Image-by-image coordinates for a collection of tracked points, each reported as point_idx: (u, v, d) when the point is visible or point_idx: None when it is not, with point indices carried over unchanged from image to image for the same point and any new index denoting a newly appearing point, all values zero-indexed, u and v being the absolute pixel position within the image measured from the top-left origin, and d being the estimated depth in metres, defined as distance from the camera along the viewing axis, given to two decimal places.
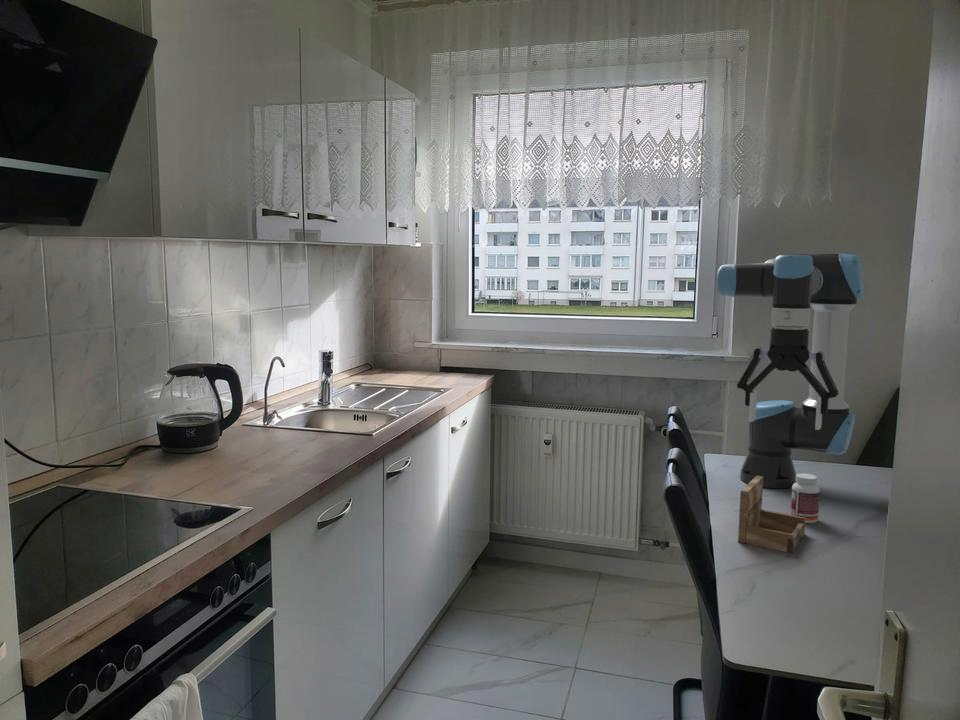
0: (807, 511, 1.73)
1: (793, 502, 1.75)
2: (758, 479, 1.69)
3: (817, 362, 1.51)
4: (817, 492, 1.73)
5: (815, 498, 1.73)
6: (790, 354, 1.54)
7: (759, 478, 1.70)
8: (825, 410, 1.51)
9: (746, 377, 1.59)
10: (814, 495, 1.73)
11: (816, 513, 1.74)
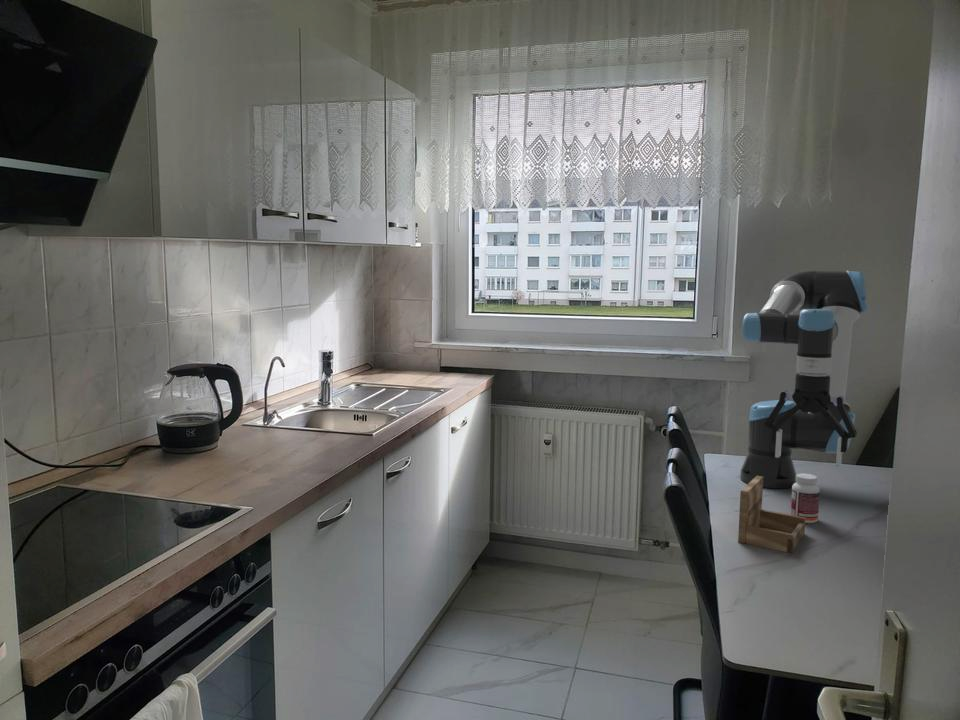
0: (807, 511, 1.73)
1: (793, 503, 1.75)
2: (758, 479, 1.69)
3: (838, 406, 1.68)
4: (817, 492, 1.73)
5: (815, 499, 1.73)
6: (813, 398, 1.71)
7: (759, 478, 1.70)
8: (845, 449, 1.69)
9: (773, 417, 1.77)
10: (814, 495, 1.73)
11: (816, 513, 1.74)
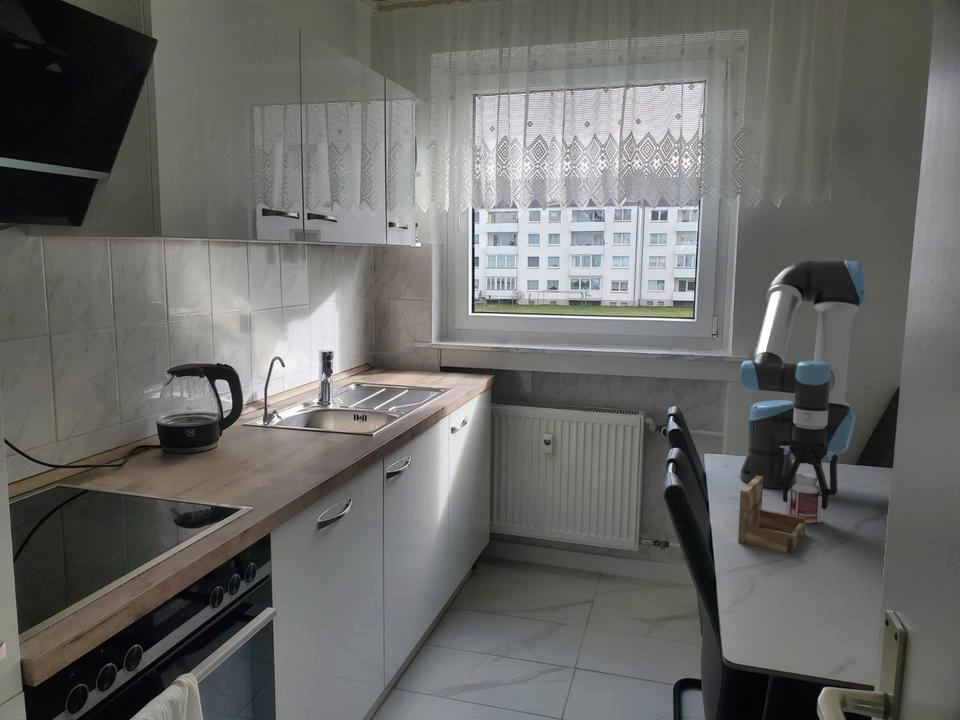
0: (807, 511, 1.73)
1: (793, 502, 1.75)
2: (758, 479, 1.69)
3: (831, 462, 1.70)
4: (817, 492, 1.73)
5: (815, 498, 1.73)
6: (811, 446, 1.73)
7: (759, 478, 1.70)
8: (825, 505, 1.73)
9: (780, 475, 1.77)
10: (814, 495, 1.73)
11: (816, 513, 1.74)
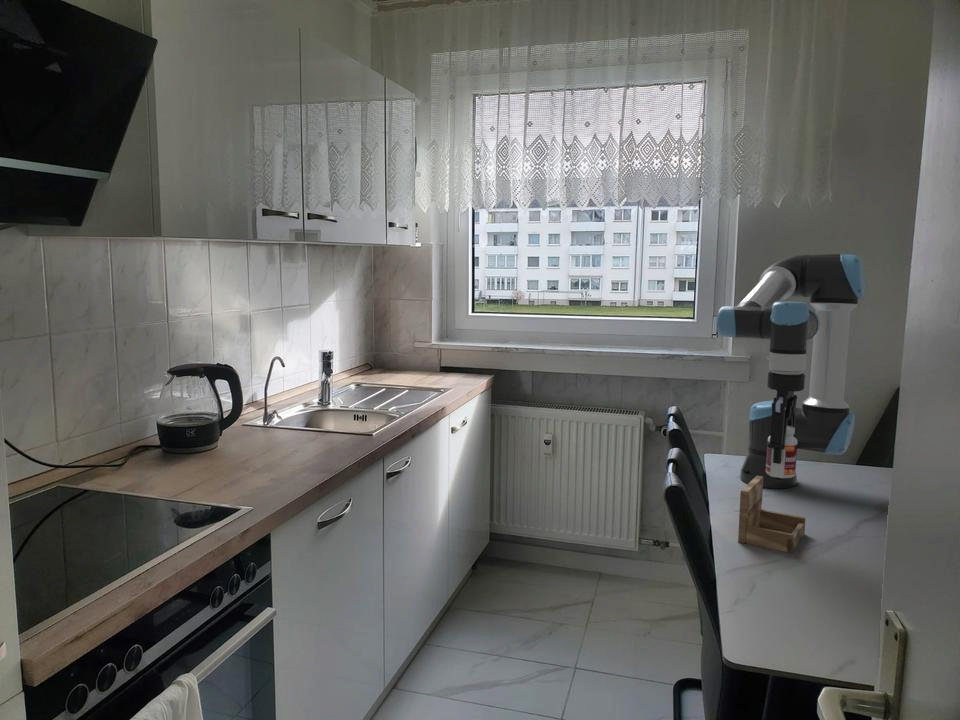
0: (766, 460, 1.62)
1: None
2: (758, 479, 1.69)
3: None
4: None
5: (771, 449, 1.60)
6: None
7: (759, 478, 1.70)
8: (773, 459, 1.58)
9: None
10: None
11: None
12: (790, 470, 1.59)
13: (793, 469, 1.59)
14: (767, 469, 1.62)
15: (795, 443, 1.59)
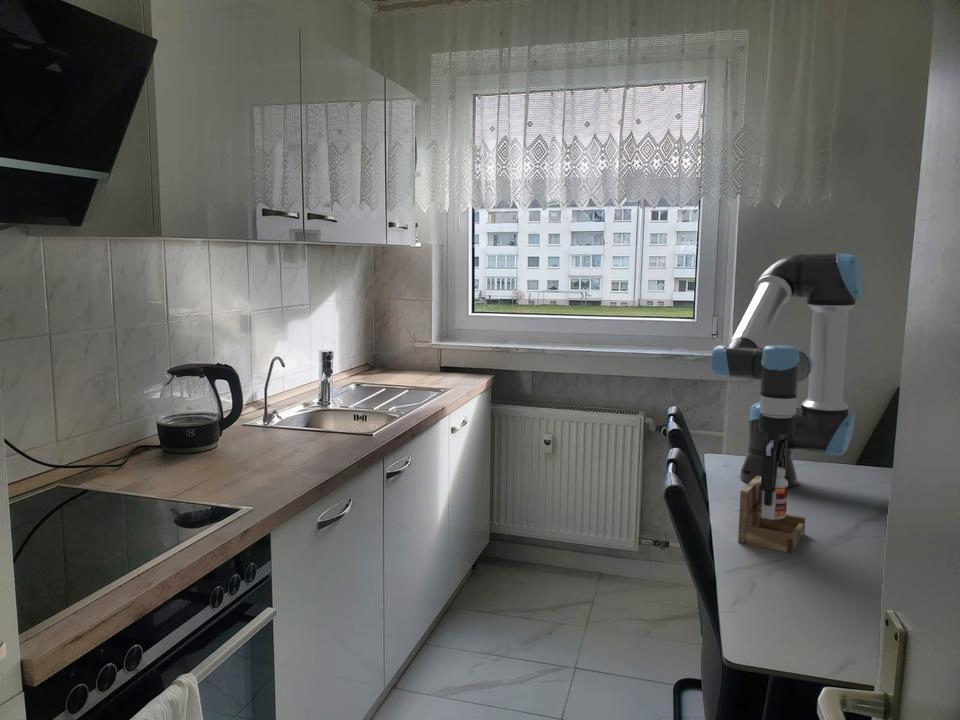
0: None
1: None
2: (758, 479, 1.69)
3: None
4: None
5: (762, 490, 1.62)
6: None
7: (759, 478, 1.70)
8: (764, 501, 1.60)
9: None
10: None
11: None
12: (781, 512, 1.61)
13: (784, 510, 1.62)
14: (758, 510, 1.64)
15: (786, 485, 1.61)
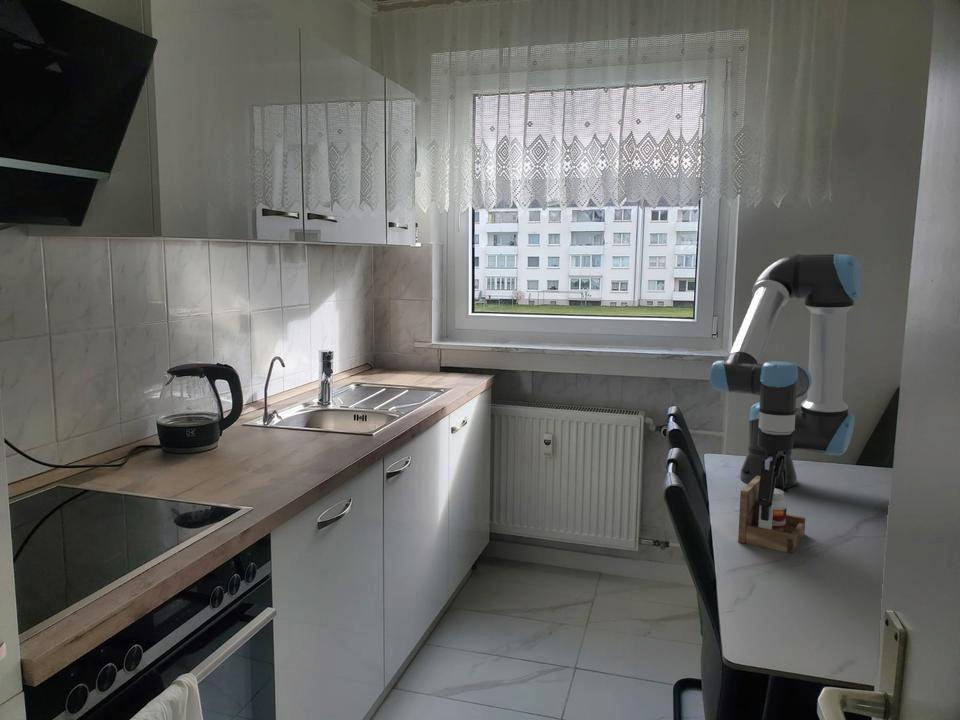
0: None
1: None
2: (758, 479, 1.69)
3: None
4: None
5: None
6: None
7: (759, 478, 1.70)
8: (761, 516, 1.59)
9: None
10: None
11: None
12: None
13: None
14: None
15: (784, 507, 1.62)
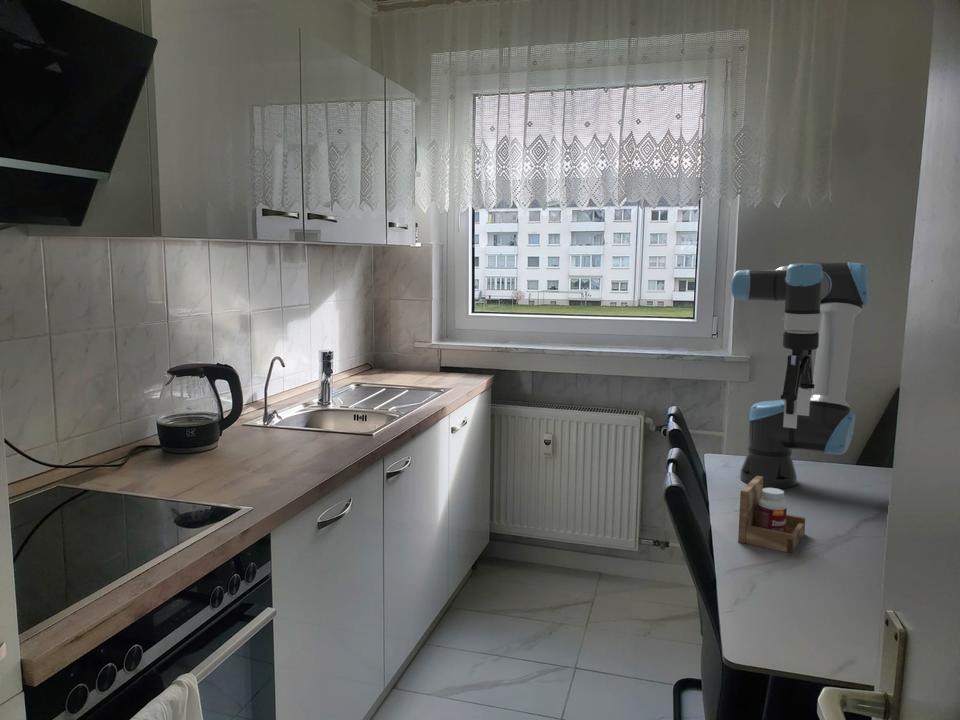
0: None
1: None
2: (758, 479, 1.69)
3: None
4: (764, 507, 1.63)
5: (761, 512, 1.63)
6: None
7: (759, 478, 1.70)
8: (786, 410, 1.62)
9: None
10: (760, 508, 1.63)
11: None
12: None
13: None
14: None
15: (784, 507, 1.62)
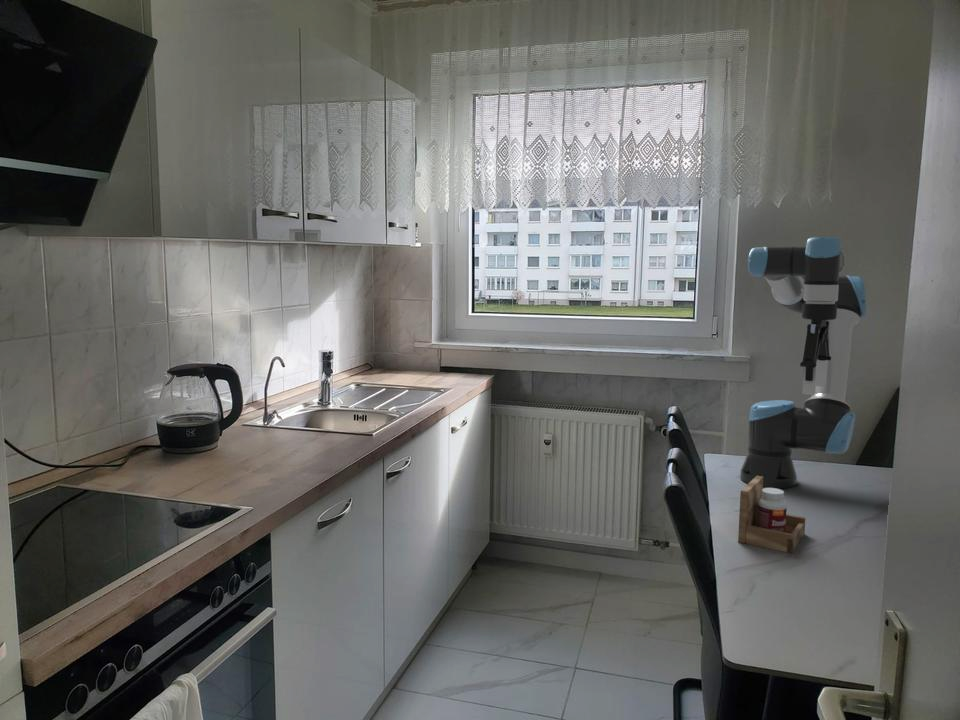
0: None
1: None
2: (758, 479, 1.69)
3: None
4: (764, 507, 1.63)
5: (761, 512, 1.63)
6: None
7: (759, 478, 1.70)
8: (805, 377, 1.68)
9: None
10: (760, 508, 1.63)
11: None
12: None
13: None
14: None
15: (784, 507, 1.62)
